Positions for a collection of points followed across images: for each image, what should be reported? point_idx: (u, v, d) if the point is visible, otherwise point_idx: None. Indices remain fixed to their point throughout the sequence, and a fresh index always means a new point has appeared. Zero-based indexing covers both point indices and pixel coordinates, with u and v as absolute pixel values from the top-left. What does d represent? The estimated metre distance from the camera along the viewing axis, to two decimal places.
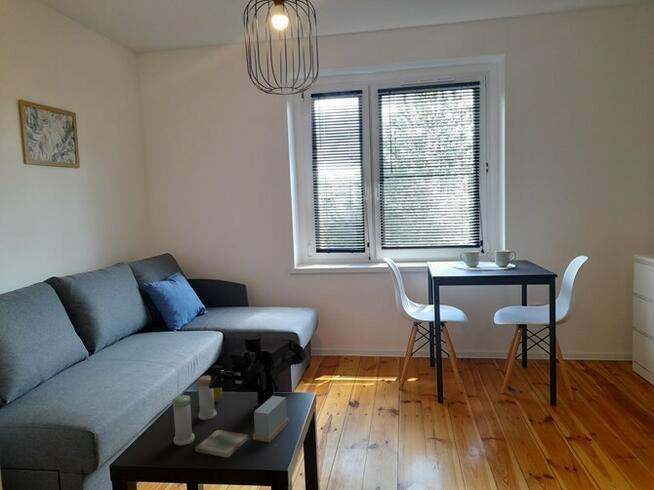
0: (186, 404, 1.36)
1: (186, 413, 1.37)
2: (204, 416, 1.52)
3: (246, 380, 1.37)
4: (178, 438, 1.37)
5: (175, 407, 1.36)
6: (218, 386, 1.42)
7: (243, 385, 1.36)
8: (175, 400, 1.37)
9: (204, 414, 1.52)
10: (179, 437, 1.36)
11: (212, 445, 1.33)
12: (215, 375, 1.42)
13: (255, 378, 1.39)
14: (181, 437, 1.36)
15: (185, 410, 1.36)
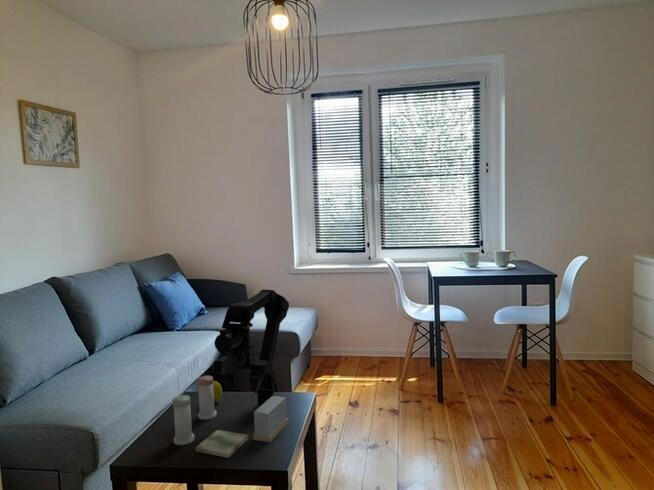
0: (186, 404, 1.36)
1: (186, 413, 1.37)
2: (204, 416, 1.52)
3: (256, 381, 1.43)
4: (178, 438, 1.37)
5: (175, 407, 1.36)
6: None
7: (257, 385, 1.44)
8: (175, 400, 1.37)
9: (204, 414, 1.52)
10: (179, 437, 1.36)
11: (212, 445, 1.33)
12: (224, 376, 1.47)
13: None
14: (181, 437, 1.36)
15: (185, 410, 1.36)
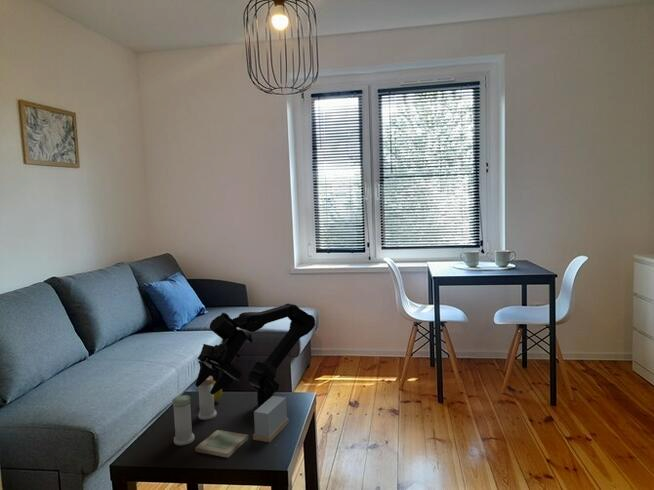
0: (186, 404, 1.36)
1: (186, 413, 1.37)
2: (204, 416, 1.52)
3: (218, 379, 1.40)
4: (178, 438, 1.37)
5: (175, 407, 1.36)
6: (208, 375, 1.50)
7: (216, 386, 1.40)
8: (175, 400, 1.37)
9: (204, 414, 1.52)
10: (179, 437, 1.36)
11: (212, 445, 1.33)
12: (200, 368, 1.48)
13: (225, 375, 1.40)
14: (181, 437, 1.36)
15: (185, 410, 1.36)
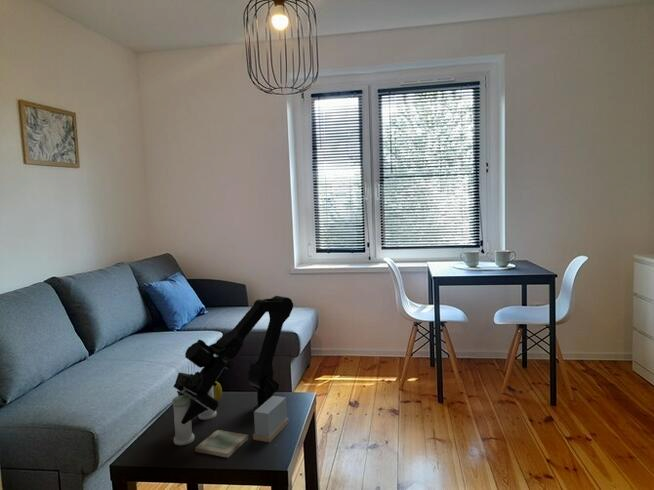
0: (186, 404, 1.36)
1: None
2: (204, 416, 1.52)
3: (190, 408, 1.36)
4: (178, 438, 1.37)
5: (175, 407, 1.36)
6: None
7: (188, 415, 1.36)
8: (175, 400, 1.37)
9: (204, 414, 1.52)
10: (179, 437, 1.36)
11: (212, 445, 1.33)
12: None
13: (197, 404, 1.36)
14: (181, 437, 1.36)
15: (185, 410, 1.36)
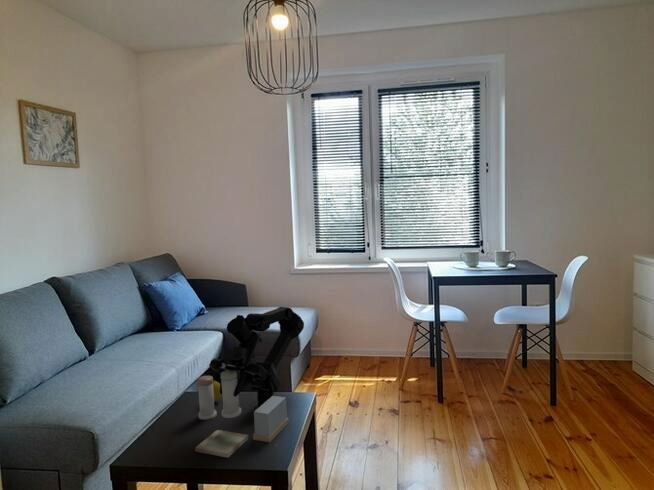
0: (236, 377, 1.40)
1: (236, 385, 1.41)
2: (204, 416, 1.52)
3: (240, 380, 1.40)
4: (229, 411, 1.40)
5: (226, 381, 1.39)
6: None
7: (239, 387, 1.40)
8: (224, 375, 1.39)
9: (204, 414, 1.52)
10: (230, 410, 1.40)
11: (212, 445, 1.33)
12: None
13: (248, 375, 1.41)
14: (232, 410, 1.40)
15: (235, 383, 1.40)
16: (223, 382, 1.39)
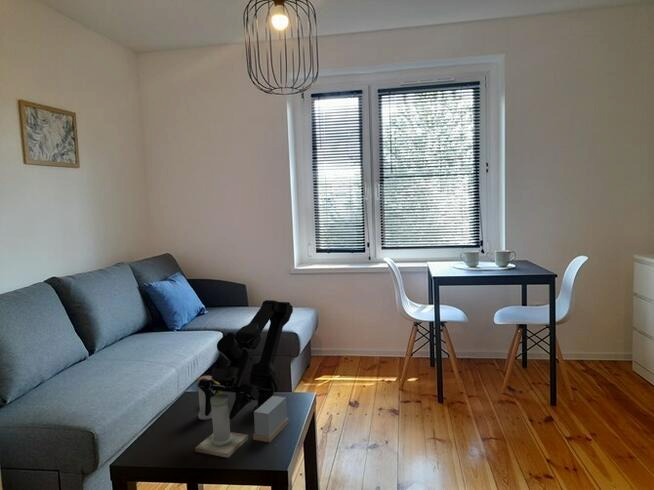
0: (227, 402, 1.33)
1: (227, 411, 1.34)
2: (204, 416, 1.52)
3: (236, 402, 1.33)
4: (220, 439, 1.33)
5: (216, 407, 1.32)
6: None
7: (235, 409, 1.33)
8: (215, 400, 1.32)
9: (204, 414, 1.52)
10: (221, 437, 1.33)
11: (212, 445, 1.33)
12: (206, 396, 1.37)
13: (244, 396, 1.34)
14: (223, 437, 1.33)
15: (226, 408, 1.33)
16: (213, 408, 1.32)
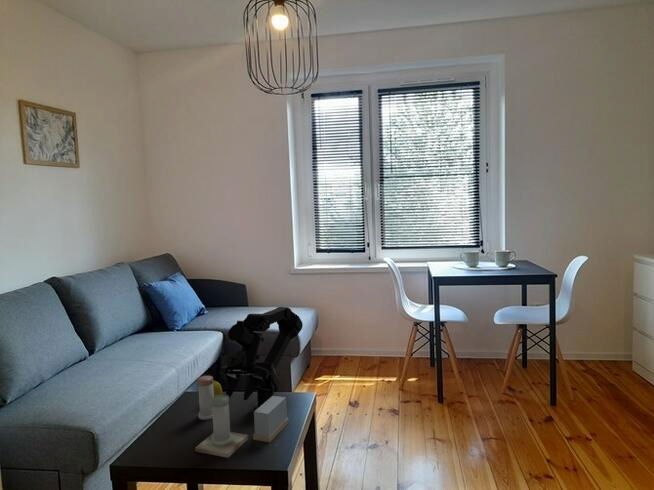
0: (228, 402, 1.34)
1: (228, 411, 1.34)
2: (204, 416, 1.52)
3: (247, 384, 1.41)
4: (220, 439, 1.33)
5: (217, 407, 1.32)
6: (235, 384, 1.50)
7: (247, 390, 1.41)
8: (215, 400, 1.32)
9: (204, 414, 1.52)
10: (221, 437, 1.33)
11: (212, 445, 1.33)
12: (226, 381, 1.49)
13: (252, 377, 1.40)
14: (224, 437, 1.33)
15: (227, 408, 1.33)
16: (214, 408, 1.32)
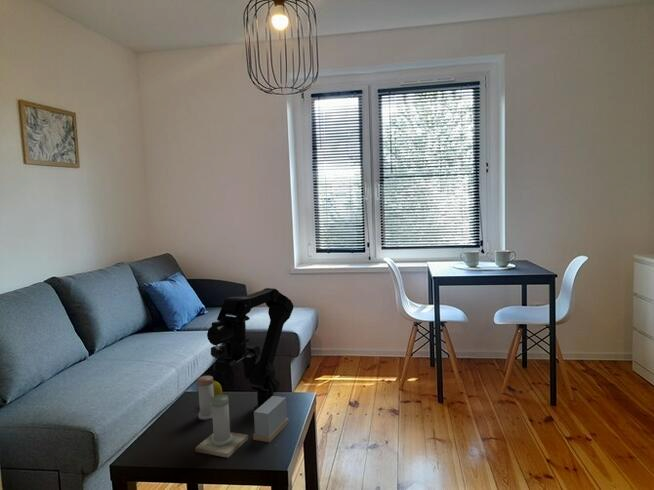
0: (227, 402, 1.34)
1: (228, 411, 1.34)
2: (204, 416, 1.52)
3: None
4: (220, 439, 1.33)
5: (217, 407, 1.32)
6: (251, 364, 1.51)
7: (228, 382, 1.43)
8: (215, 400, 1.32)
9: (204, 414, 1.52)
10: (221, 437, 1.33)
11: (212, 445, 1.33)
12: None
13: None
14: (223, 437, 1.33)
15: (227, 408, 1.33)
16: (214, 408, 1.32)
